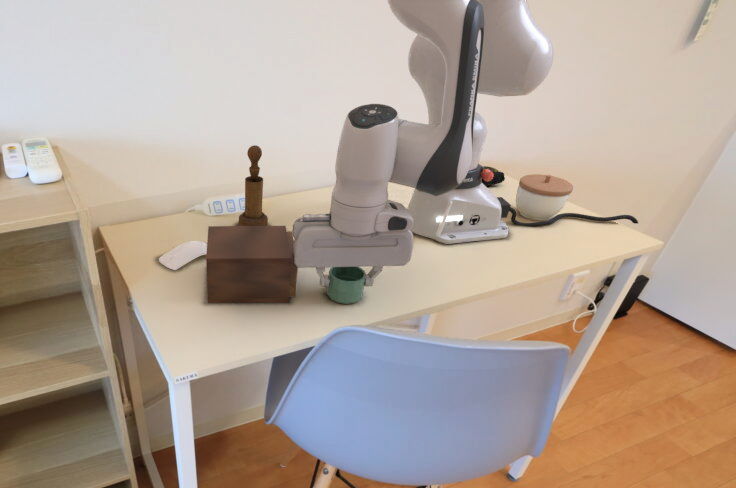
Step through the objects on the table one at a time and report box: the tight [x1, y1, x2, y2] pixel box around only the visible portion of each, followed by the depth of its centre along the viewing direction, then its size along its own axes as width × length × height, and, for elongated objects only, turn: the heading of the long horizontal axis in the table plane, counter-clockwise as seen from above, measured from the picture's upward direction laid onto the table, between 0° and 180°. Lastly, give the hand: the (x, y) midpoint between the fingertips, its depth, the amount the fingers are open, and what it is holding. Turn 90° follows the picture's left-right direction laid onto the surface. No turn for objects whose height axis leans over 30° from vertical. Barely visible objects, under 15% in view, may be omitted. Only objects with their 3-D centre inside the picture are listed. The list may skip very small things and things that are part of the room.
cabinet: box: [205, 225, 292, 304], centre depth 96 cm, size 15×13×9 cm
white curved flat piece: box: [158, 240, 207, 271], centre depth 107 cm, size 7×12×2 cm, turn 128°
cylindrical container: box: [326, 267, 367, 305], centre depth 94 cm, size 6×6×5 cm
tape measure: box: [482, 165, 506, 187], centre depth 135 cm, size 7×7×4 cm
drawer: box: [287, 230, 299, 297], centre depth 96 cm, size 15×11×7 cm
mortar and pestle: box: [238, 144, 269, 226], centre depth 113 cm, size 7×6×18 cm
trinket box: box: [515, 173, 574, 221], centre depth 118 cm, size 11×11×9 cm
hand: (345, 285), depth 94 cm, fingers closed on cylindrical container, 6 cm apart
